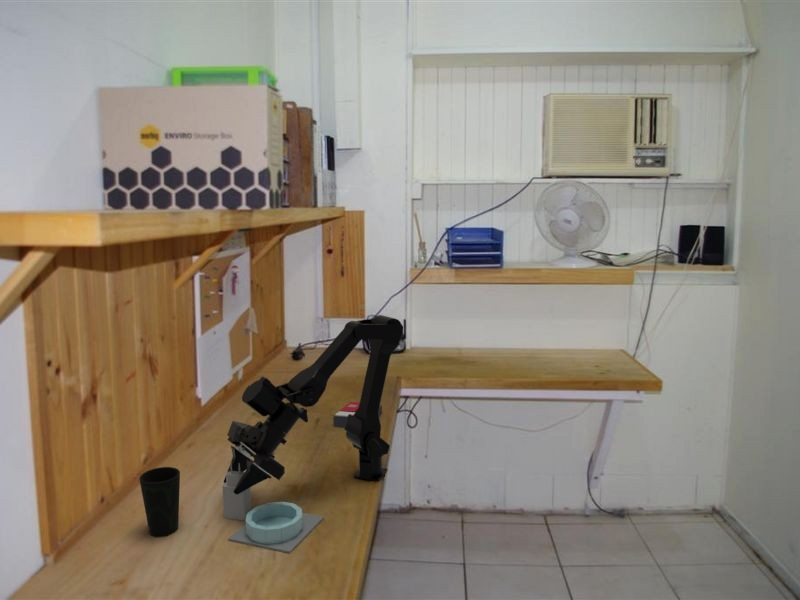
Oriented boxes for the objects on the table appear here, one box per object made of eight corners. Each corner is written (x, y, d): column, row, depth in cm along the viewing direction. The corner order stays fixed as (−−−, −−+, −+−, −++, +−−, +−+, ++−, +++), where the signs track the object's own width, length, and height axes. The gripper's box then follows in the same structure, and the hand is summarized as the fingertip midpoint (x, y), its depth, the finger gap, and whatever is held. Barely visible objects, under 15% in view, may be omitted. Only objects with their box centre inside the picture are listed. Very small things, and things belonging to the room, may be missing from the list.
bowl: (266, 512, 133) (265, 498, 133) (312, 521, 129) (311, 506, 129) (235, 538, 123) (234, 523, 122) (284, 548, 119) (283, 533, 118)
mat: (266, 507, 136) (266, 506, 136) (323, 518, 131) (323, 516, 131) (228, 540, 123) (228, 538, 123) (289, 553, 118) (289, 551, 118)
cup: (188, 519, 131) (184, 466, 129) (176, 539, 124) (172, 482, 122) (151, 520, 131) (147, 467, 129) (137, 540, 123) (133, 483, 121)
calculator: (382, 402, 196) (368, 416, 182) (382, 416, 196) (368, 430, 182) (349, 400, 199) (332, 413, 184) (349, 413, 199) (333, 427, 185)
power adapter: (229, 511, 135) (226, 458, 133) (252, 513, 134) (250, 460, 132) (222, 518, 132) (219, 464, 130) (246, 520, 131) (243, 466, 129)
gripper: (234, 396, 139) (187, 455, 134) (268, 419, 124) (217, 486, 119) (268, 422, 145) (225, 479, 140) (305, 447, 130) (257, 512, 125)
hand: (230, 488), depth 131 cm, fingers closed on power adapter, 5 cm apart
